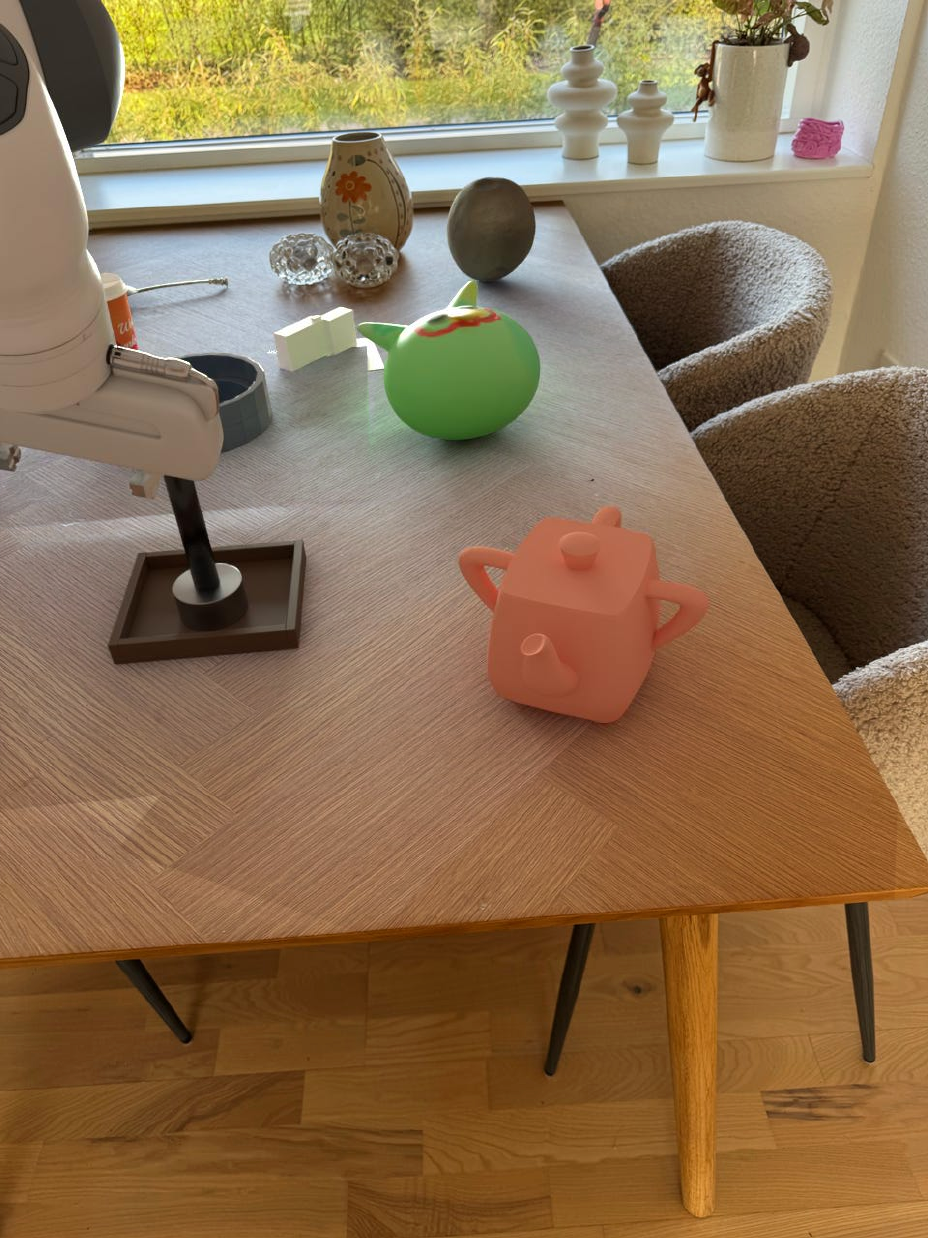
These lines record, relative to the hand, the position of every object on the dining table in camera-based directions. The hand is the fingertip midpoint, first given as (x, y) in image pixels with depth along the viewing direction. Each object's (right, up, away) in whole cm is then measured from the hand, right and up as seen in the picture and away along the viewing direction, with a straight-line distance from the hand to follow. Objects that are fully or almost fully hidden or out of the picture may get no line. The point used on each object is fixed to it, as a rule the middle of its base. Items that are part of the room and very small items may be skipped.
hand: (77, 476), depth 64 cm
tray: (+4, -9, +20) cm, 22 cm away
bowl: (-5, +13, +48) cm, 50 cm away
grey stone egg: (+31, +44, +84) cm, 100 cm away
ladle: (+4, -9, +19) cm, 21 cm away
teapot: (+35, -15, +11) cm, 40 cm away
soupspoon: (-22, +41, +84) cm, 96 cm away
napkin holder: (+8, +25, +62) cm, 68 cm away
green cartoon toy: (+26, +13, +45) cm, 54 cm away
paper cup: (-18, +20, +58) cm, 64 cm away
